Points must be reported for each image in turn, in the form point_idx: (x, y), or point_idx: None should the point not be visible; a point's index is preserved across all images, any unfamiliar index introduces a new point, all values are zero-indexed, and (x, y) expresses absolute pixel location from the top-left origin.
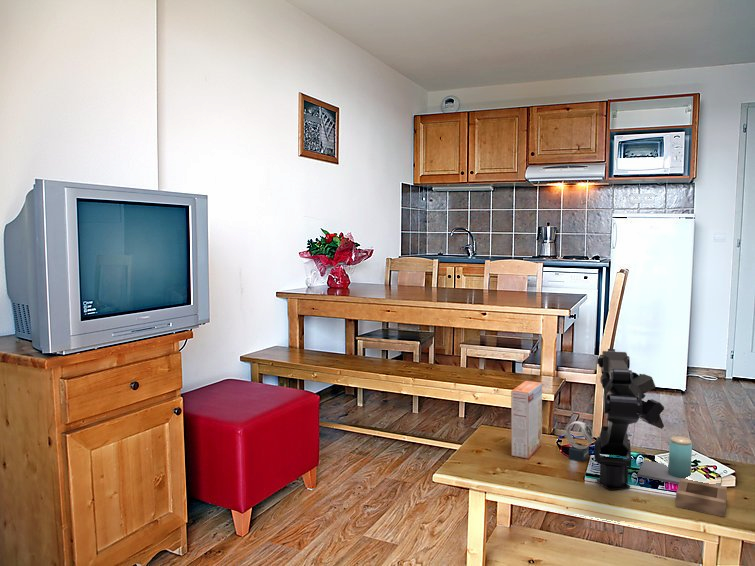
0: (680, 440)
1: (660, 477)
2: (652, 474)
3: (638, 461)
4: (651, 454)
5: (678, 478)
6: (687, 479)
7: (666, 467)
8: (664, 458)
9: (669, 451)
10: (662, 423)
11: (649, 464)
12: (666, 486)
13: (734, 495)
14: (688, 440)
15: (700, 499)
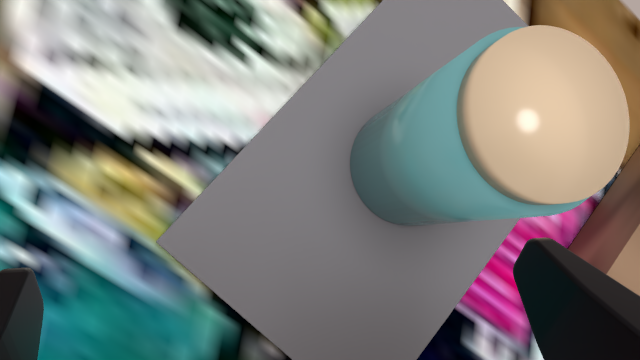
0: (580, 140)
1: (435, 309)
2: (388, 331)
3: (114, 257)
4: (6, 82)
5: None
6: (619, 256)
7: (303, 173)
8: (102, 46)
9: (454, 213)
10: (609, 286)
11: (238, 253)
12: (491, 315)
13: (610, 54)
14: (585, 65)
15: None
